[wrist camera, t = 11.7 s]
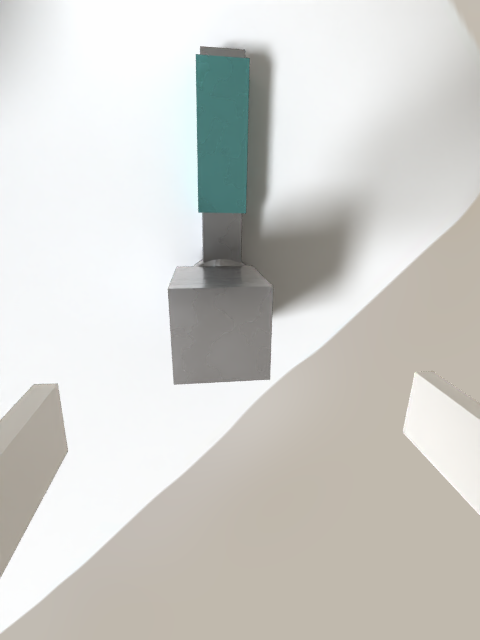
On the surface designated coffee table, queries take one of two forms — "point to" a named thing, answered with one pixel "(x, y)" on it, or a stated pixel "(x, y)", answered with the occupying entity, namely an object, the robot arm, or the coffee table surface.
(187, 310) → the grey metal block
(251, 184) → the coffee table surface
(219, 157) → the ratchet
